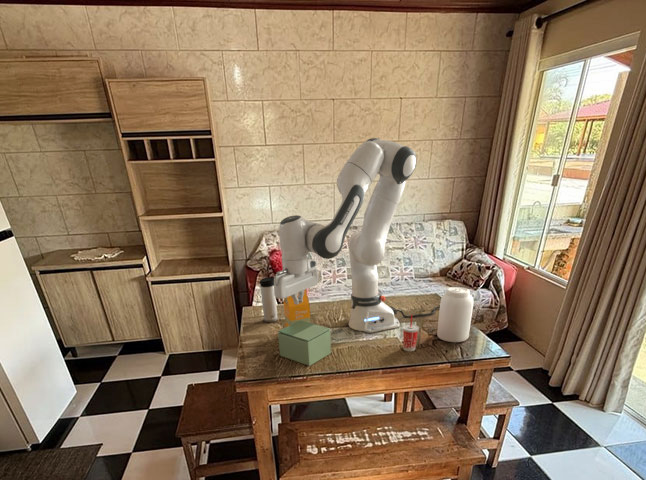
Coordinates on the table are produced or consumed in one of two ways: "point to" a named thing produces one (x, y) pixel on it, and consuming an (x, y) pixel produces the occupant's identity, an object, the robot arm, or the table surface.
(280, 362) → the table surface
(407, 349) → the beverage cup
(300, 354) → the storage box
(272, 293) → the travel mug
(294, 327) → the flap
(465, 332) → the white upright cylinder
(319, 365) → the table surface
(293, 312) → the orange juice
